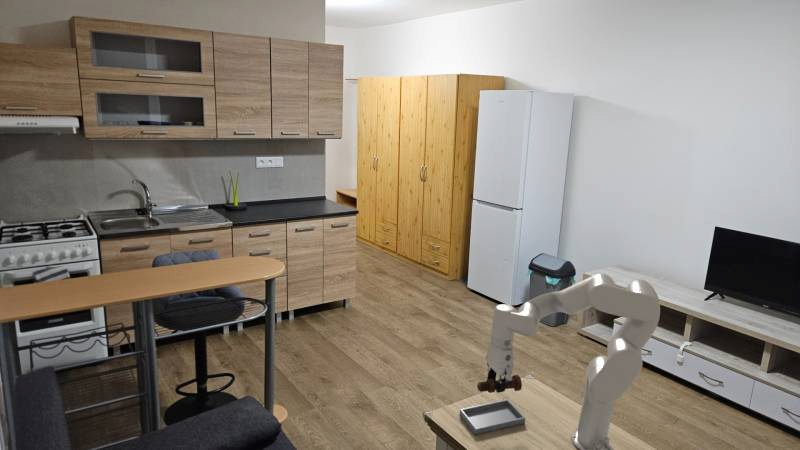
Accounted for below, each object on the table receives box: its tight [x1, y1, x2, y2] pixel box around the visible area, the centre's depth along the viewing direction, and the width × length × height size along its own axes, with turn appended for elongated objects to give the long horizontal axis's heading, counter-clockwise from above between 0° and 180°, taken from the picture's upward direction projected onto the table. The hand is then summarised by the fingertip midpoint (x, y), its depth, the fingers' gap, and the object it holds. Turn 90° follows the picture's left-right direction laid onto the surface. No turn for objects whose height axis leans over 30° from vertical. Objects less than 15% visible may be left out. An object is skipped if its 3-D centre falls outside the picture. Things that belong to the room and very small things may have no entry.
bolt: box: [476, 374, 523, 394], centre depth 183 cm, size 6×5×15 cm
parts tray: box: [459, 398, 526, 436], centre depth 186 cm, size 11×20×2 cm, turn 112°
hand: (495, 386), depth 183 cm, fingers closed on bolt, 5 cm apart
